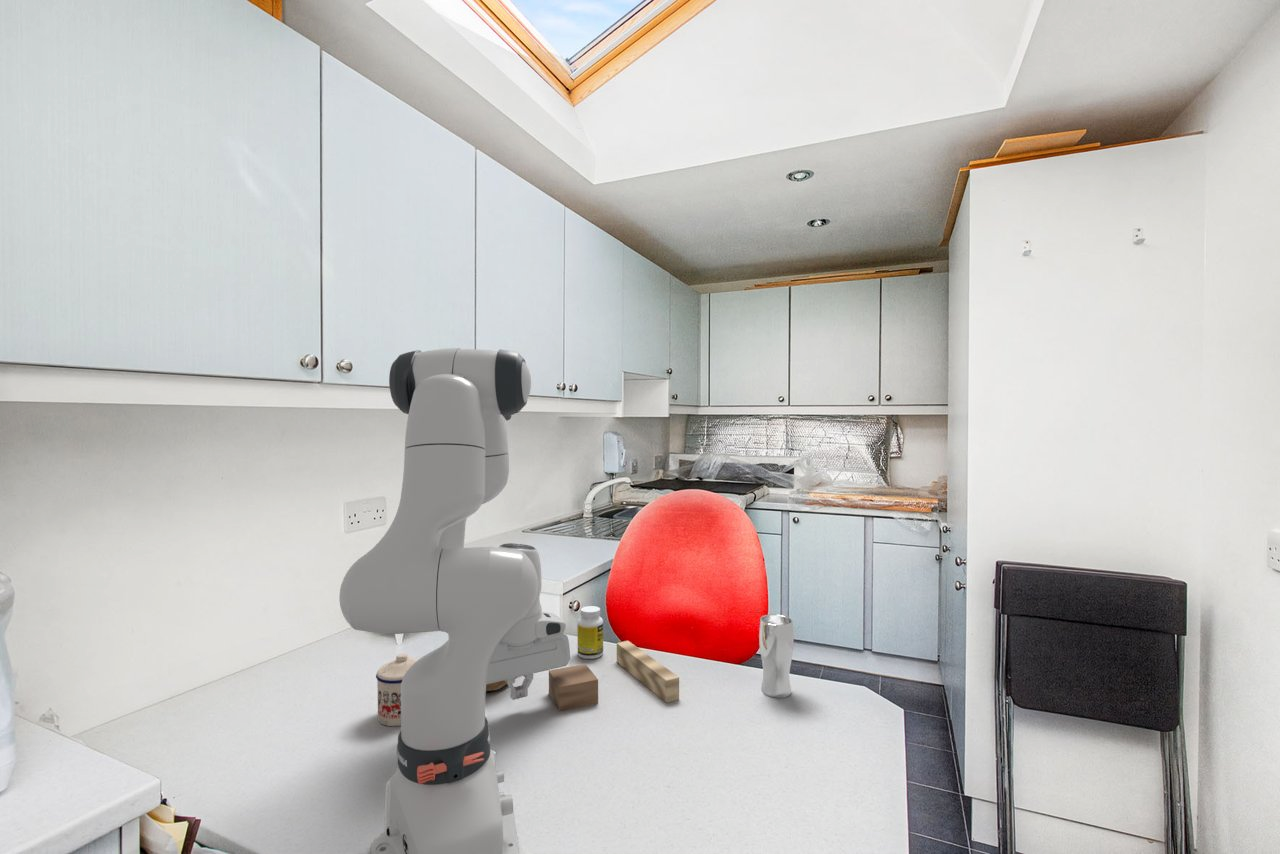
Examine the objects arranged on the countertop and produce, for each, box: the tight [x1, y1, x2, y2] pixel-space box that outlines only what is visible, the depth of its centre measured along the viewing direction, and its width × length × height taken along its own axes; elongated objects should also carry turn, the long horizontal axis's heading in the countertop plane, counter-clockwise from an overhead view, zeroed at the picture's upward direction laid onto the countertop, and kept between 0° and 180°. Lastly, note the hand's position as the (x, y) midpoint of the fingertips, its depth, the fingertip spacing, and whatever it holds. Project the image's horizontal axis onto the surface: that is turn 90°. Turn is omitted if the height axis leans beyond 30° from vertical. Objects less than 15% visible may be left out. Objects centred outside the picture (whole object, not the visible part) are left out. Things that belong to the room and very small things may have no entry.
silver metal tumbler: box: [758, 613, 795, 699], centre depth 120 cm, size 7×7×15 cm
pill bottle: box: [576, 605, 604, 660], centre depth 139 cm, size 6×6×11 cm
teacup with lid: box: [375, 653, 420, 727], centre depth 111 cm, size 12×9×12 cm
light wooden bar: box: [616, 640, 680, 704], centre depth 126 cm, size 22×3×4 cm, turn 29°
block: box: [548, 663, 599, 712], centre depth 118 cm, size 8×8×5 cm
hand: (519, 697), depth 113 cm, fingers closed
